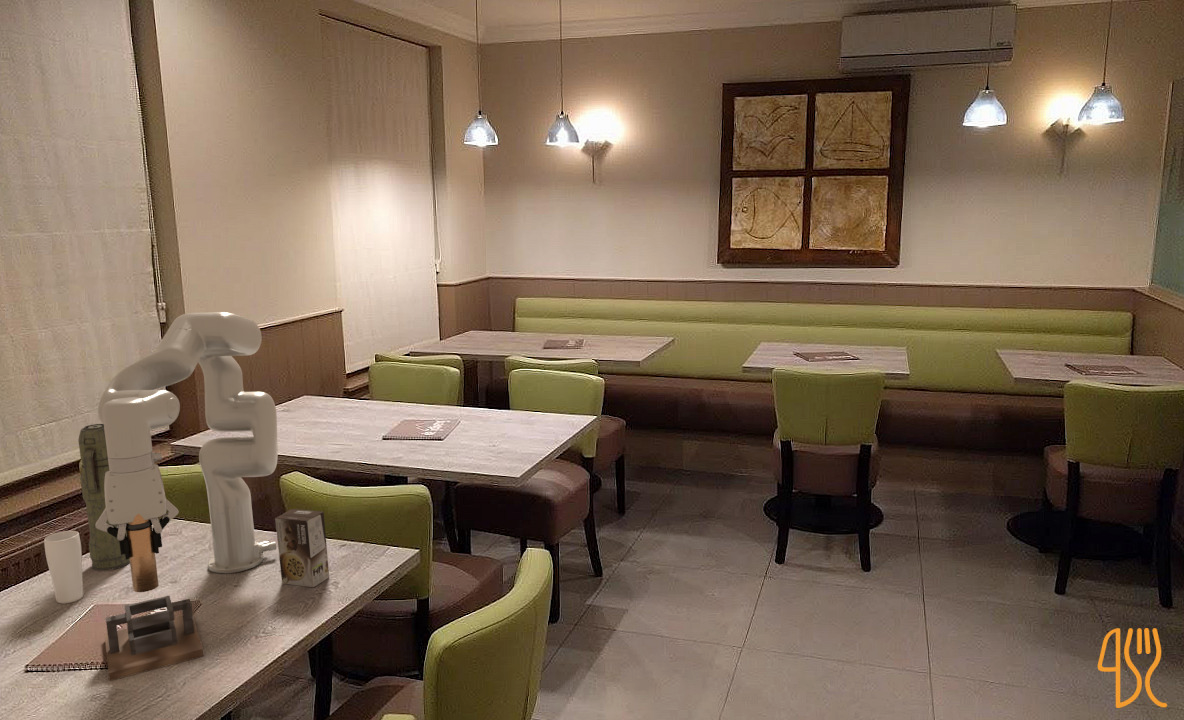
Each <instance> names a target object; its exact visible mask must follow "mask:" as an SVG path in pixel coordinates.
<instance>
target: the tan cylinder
mask: <svg viewBox="0 0 1184 720" xmlns="http://www.w3.org/2000/svg"><path fill="white" fill-rule="evenodd" d="M152 531H153V524H152V522H151V520H144V518H143V517H142V516H141V515H140V514H137V515H136V516H135V518H134V520H133V522H131V523H129V524H126V533H127V538H128V545H129V554H130V563H129V564H130V565H129V566H130V573H131V575H130V576H131V581H132V582H131V583H132V590H133V592H135V593H145V592H146V593H147V592H149V591H153V590H155V589H157V588H159V578H158V577H159V576H158V567H157V559H156V553H155V551H154V542H153V532H152Z"/></svg>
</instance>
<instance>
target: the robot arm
mask: <svg viewBox="0 0 1184 720" xmlns="http://www.w3.org/2000/svg"><path fill="white" fill-rule="evenodd" d="M262 340H263V338H262V330H261V328H260V327H259V325H258V324H257V322H255V320H254V319H251V318H248V317H245V316H242V315H238V314H236V313H231V312H227V311H226V312H225V311H215V312H214V311H212V312H187V313H183V314H181V315H178V316H177V317H176V318H175V319H174V320H173V321H172V323H171V324H170V326H169V328H168V329H167V331H166V332H165V334H164V336H163V337H162V339H161V341H160V342H159V344H158V345H157V347H156V348H155V350H154V352H152V353H151V354H148V355H146V356H145V357H143V358H140V359H139V360H137V361H135V362H134V363H132V364H130V365H127V366H126V367H125V368H123V369H122V370H121V371H119V372H118V373H116V375H115V376H114V377H113V378H112V379H111V380H110V381H109V384H108V385H107V387H106V388H105V390H104V391H103V393H102V395H101V397H100V399H99V402H98V408H97V415H98V418H99V420H100V422H101V424H104V430H105V438H106V446H107V455H108V463H109V471H107V472H106V473H105V482H104V492H105V506H106V508H105V510H104V511H103V513H102V514H101V516H100V518H99V519H98V521H97V522H96V524H95V525H96V528H97V529H99V530H102V531H105V532H108V533H109V534H111V535H112V536H114V537H116V538H117V539H118V540H119V543H120V551H121V555H123V554H125V557H126V560H127V559H129V558H130V554H129V545H128V538H127V536H126V533H125V530H126V524H129V523H131V522H133V520H134V518H135V516H136V515H137V514H140V515H141V516H142V517H143V518H144V520H151V522H152V532H153V542H154V551H155V555H156V554H160V550H159V549H160V548H162V547H163V542H162V541H163V540H162V532H163V530H164V529H165V527H167V525H168V523H169V522H170V521H171V520H174V518H175V517H176V516H177V515H179V512H180V511H179V509H178V507H176V506H175V505H174V504H173V503H172V502H171V501H170V500H168V499H167V498H166V493H165V492H166V491H165V487H164V482H163V477H162V473H161V470H160V467H159V465H158V464H156V462H158V461H159V460H160V461H161V460H163V458H162V453H161V452H155V451H153V445H152V444H153V443H152V435H151V431H152V430H153V431H154V430H157V429H162V428H166V427H168V426H170V425H172V424H173V423H174V422H175V421H176V420H177V419H178V416H179V413H180V411H181V410H180V409H181V406H180V405H181V404H180V400H179V397H177V395H175V394H174V393H173V392H172V391H169V390H166V389H165V390H164V389H160V388H164V387H168V386H172V385H174V384H176V383H179V382H182V381H184V380H186V379H188V378H189V377H191V375H192V374H193V372H194V370H195V369H196V368H197V365H198V364H199V367H200V368H201V371H202V373H203V374H202V375H203V379H204V412H205V413H204V414H205V422H206V425H207V427H208V428H209V429H210V430H212V431H214V432H219V433H221V432H222V433H231V432H232V433H233V432H235V433H236V432H237V433H238V432H251V433H252V435H253V436H243V437H241V436H237V437H236V436H234V437H233V436H231V437H217V438H213V439H210V440H208V441H206V442H204V444H203V445H202V446H201V447H200V450H199V453H198V459H199V460H198V461H199V466H200V469H201V472H202V474H203V479H204V482H205V488H206V493H207V501H208V503H207V504H208V510H209V511H208V512H209V518H210V529H211V531H210V532H211V538H212V540H211V541H212V548H213V557H212V558H211V559H209V561H207V568H208V570H209V571H211V572H213V573H215V574H216V573H217V574H232V573H233V574H234V573H238V572H243V571H246V570H249V569H252V568H255V567H257V566H258V565H259V564H262V562H263V561H264V552H270V551H275V550H277V543H276V541H273V542H269V541H268V540H266V541H262V542H258V541H257V540H256V537H255V526H254V518H253V509H252V508H253V507H252V496H251V495H252V494H251V490H250V488H249V486H248V484H247V483H246V482H245V480H244V479H243V478H256V477H266V476H269V475H272V474H273V473H275V470H276V468H277V464H278V457H279V456H278V455H279V454H278V453H279V452H278V424H277V423H278V420H277V417H278V416H277V407H276V404H275V401H274V399H273V397H272V396H271V395H270V394H269V393H267V392H264V391H244V390H245V389H244V381H243V380H244V379H243V371H242V368H241V366H240V364H239V363H238V362H237V361H236V359H235V358H234V357H237V356H238V357H239V356H243V357H245V356H252V355H254V354H255V353H257V352H258V351H259V349H260V347H261V345H262ZM167 511H168V512H167ZM107 520H108V522H109V523H110V524H111V525H109V524H107V523H106V521H107ZM113 525H118V526H117V528H116V527H114V526H113Z"/></svg>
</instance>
